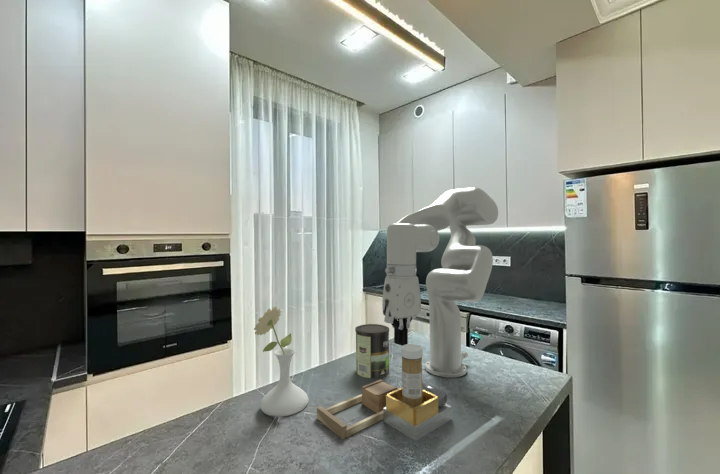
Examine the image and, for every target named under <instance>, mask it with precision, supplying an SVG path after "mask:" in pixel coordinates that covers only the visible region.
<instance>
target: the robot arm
mask: <svg viewBox="0 0 720 474" xmlns="http://www.w3.org/2000/svg"><path fill="white" fill-rule="evenodd" d="M498 217H499V207H498V205H497V203H496V201H495V200H494V199H493V198H492V197H491V196H490V195H489V194H488V193H487V192H486V191H485V190H483V189H482V188H479V187H476V186H475V187H474V186H471V187H464V188H454V189H449V190H447V191H445V192H443V193H442V194H441V195H440V196H438V198H436V200H435V201H433V203H431V204H430V205H429V206H426V207H423V208H422V209H419V210H417V211H414V212H412V213H409V214H407V215H406V216H403V217H402V218H400V219H399V220H398V221H396V223H392V224H389V225H387V226H388V227H387V228H386V268H385V269H384V272H385V273H386V276H385V278H384V285H383V289H382V290H383V291H382V303H381V305H382V306H381V307H382V309H381V310H382V314H383V316H384V320H383V321H384V323H387V324H391V327H392V328H393V329H394V330H393V332H394V333H393V334H394V335H393V342H394V344H396V345H399V346H401V347H402V346H403V345H406V344H409V340H408V339H409V337H408V336H409V334H408V333H409V328H410V327H411V326H410V325H411V322H412V321H413V320H414V319H416V318H417V317H418V316H419V315H420V314H421V312H422V302H421V301H422V300H421V298H422V297H421V296H422V295H421V289H420V288H421V287H420V283H419V282H420V281H419V277H418V276H417V253H428V252H432V251H434V250H435V249H436V248H437V247H438V245H439V244H440V243H439V242H440V234H439V231H441V230H444V229H446V228H448V227H449V230H450V239H449V241H448V243H447V245H446V247H445V250H444V252H443V255H442V256H441V260H440V261H441V263H440V264H441V268H435V269H432V270H431V271H429V273H428V274H427V276H426V279H425V286H426V291H427V298H428V305H429V307H428V308H429V310H428V311H429V360H427V361H426V362H425V364H424V368H425V370H426V371H427V372H428V373H429V374H431V375H433V376H437V377H441V378H459V377H462V376H463V377H464V375H466V374H467V371H468V370H467V368H468V367H467V366H466V365H465V364H464V363H463V360H464V359H467V358H468V357H469V355H468V353H467V351H463V352H462V315H461V311H460V308H459V307H458V305H457V303H456V301H458V302H464V303H465V302H467V303H478V302H479V301H480V300H481V299H482V298H483V296H484V294H485V291H486V288H487V284H488V282H489V279H490V277H491V276H490V275H491V273H492V268H493V265H494V264H493V261H494V259H493V253H492V251H491V248H489V247H487V246H485V245H482V244H481V245H480V244H478V245H477V244H476V243H477V241H476V238H475V237H476V236H475V235H474V234H473V233H472V231H471V230H470V229H468V227H467V226H487V225H492V224H494V223H496V221H497V219H498Z"/></svg>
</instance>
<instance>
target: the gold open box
mask: <svg viewBox="0 0 720 474" xmlns="http://www.w3.org/2000/svg"><path fill="white" fill-rule="evenodd" d="M422 384H423V394H422V404H420V405H418V406H417V407H415V408H413V407H411V406H409V405H407V404H405V403H403V401H402V387H399V388H397V390H395V391H392V392H390V393H388V394H387V395H386V407H385V408H383V415H384V419H383V422H384V423H386V424H387V425H388V426H390V427H392V428H394V429H395V430H397V431H398V432H400V433H401V434H403V435H404V436H406V437H407V438H409V439H411V440H412V441H414V442H417V441H419V440H420V439H422V438H423V437H425V436H426V435H428V434H430V433H431V432H433V431H435V430H436V429H438V428H440V427H441V426H443V425H445V424H447V423H448V422H449V421H451V420H452V405H450V404H447V401H448V395H447V392H446V391H444V390H441V389H440V388H437V387H434V386H431V384H428V383H425V382H423V381H422Z"/></svg>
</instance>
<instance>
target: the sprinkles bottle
mask: <svg viewBox="0 0 720 474" xmlns="http://www.w3.org/2000/svg"><path fill="white" fill-rule="evenodd" d="M400 356H401V388H402V401H403V403H405V404H407V405H409V406H411V407H413V408H415V407H417V406H418V405H420V404H422V394H423V384H422V382H423V367H422V366H423V363H422V362H423V361H422V360H423V347H422V346H421V345H419V344H415V343H412V344H411V343H408V344H406V345H403V346H402V345H401V347H400Z"/></svg>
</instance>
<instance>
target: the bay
mask: <svg viewBox="0 0 720 474" xmlns="http://www.w3.org/2000/svg"><path fill="white" fill-rule="evenodd" d="M360 403H362V393H361V394H359V395H356V396H353V397H351V398H348V399H346V400H344V401H341V402H338V403H336V404H334V405H332V406H329V407H325V408H324V407H323V406H317V407H316V419H317V420H318V421H319V422H321V423H322V424H323V425H324V426H326V427H327V428H328V429H330V431H332V432H333V433H334V434H335V435H337V436H338V437H339V438H341V439H342V440H344V439H346V438H348V437H350V436H352V435H354V434H356V433H358V432H361V431H362V430H364V429H366V428H368V427H370V426H372V425H373V424H376V423H378V422H380V421H383V420H384V415H383V410H382V411H380V412H378V413H376V412H375V413H373V414H372V415H370V416H368V417H366V418H364V419H361V420H360V421H357V422H355V423H353V424H351V425H349V426H347V424H345V423H344V422H343V421H342V420H340V419H339V418H337V417H336V416H335V415H334V414H336V413H338V412H341V411H343V410H345V409H348V408H351V407H352V406H355V405H357V404H360Z"/></svg>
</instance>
